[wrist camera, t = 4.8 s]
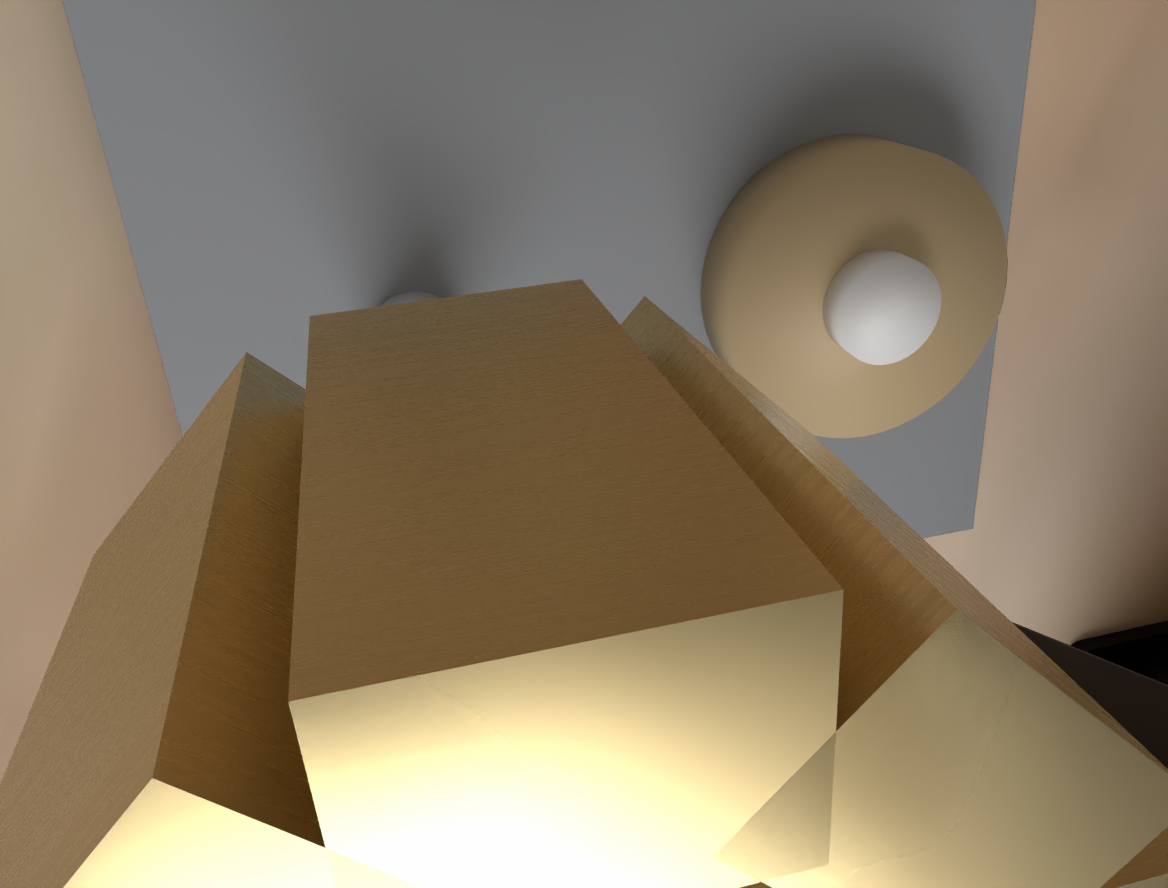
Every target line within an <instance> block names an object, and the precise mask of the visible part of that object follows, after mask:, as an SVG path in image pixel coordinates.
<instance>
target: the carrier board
mask: <svg viewBox="0 0 1168 888" xmlns="http://www.w3.org/2000/svg"><path fill="white" fill-rule="evenodd" d="M62 2H63V5H64V9H65V13H66V16H67V20H68V23H69V27H70V31H71V34H72V38H73V42H74V45H75V49H76V52H77V56H78V60H79V63H80V67H81V70H82V74H83V78H84V81H85V85H86V88H87V92H88V96H89V99H90V103H91V107H92V110H93V114H94V117H95V121H96V125H97V128H98V132H99V135H100V139H101V143H102V146H103V150H104V154H105V157H106V161H107V164H108V168H109V172H110V175H111V179H112V182H113V186H114V190H115V193H116V197H117V200H118V204H119V208H120V211H121V215H122V219H123V222H124V226H125V229H126V233H127V237H128V240H129V244H130V247H131V251H132V255H133V258H134V262H135V266H136V269H137V273H138V276H139V280H140V284H141V287H142V291H143V294H144V298H145V302H146V305H147V309H148V312H149V316H150V320H151V323H152V327H153V331H154V334H155V338H156V341H157V345H158V349H159V352H160V356H161V359H162V363H163V367H164V370H165V374H166V377H167V381H168V385H169V388H170V392H171V396H172V399H173V403H174V406H175V410H176V414H177V417H178V421H179V424H180V428H181V432H182V435H183V436H184V434H185V433H186V432H187V430H188V429H189V428H190V426H191V425H192V424H193V422H194V421H195V420H196V418H197V417H198V416H199V414H200V413H201V412H202V410H203V409H204V408H205V406H206V405H207V404H208V402H209V401H210V400H211V398H212V397H213V396H214V394H215V393H216V392H217V390H218V389H219V388H220V386H221V385H222V384H223V382H224V381H225V380H226V378H227V377H228V376H229V374H230V373H231V372H232V370H233V369H234V368H235V366H236V365H237V364H238V362H239V361H240V360H241V358H242V357H243V356H244V354H245V353H246V352H247V353H249V354H251V355H252V356H254V357H255V358H257V359H258V360H260V361H262V362H263V363H265V364H266V365H268V366H269V367H271V368H273V369H274V370H276V371H277V372H279V373H281V374H282V375H284V376H285V377H287V378H288V379H290V380H292V381H293V382H295V383H296V384H298V385H299V386H301V387H303V388H304V389H306V375H307V357H308V339H309V321H310V316H314V315H321V314H328V313H336V312H343V311H350V310H358V309H365V308H373V307H380V306H387V305H395V304H402V303H409V302H417V301H424V300H432V299H439V298H446V297H454V296H461V295H469V294H476V293H483V292H491V291H498V290H505V289H513V288H520V287H528V286H535V285H542V284H550V283H557V282H564V281H572V280H579V279H582V280H583V281H584V282H585V284H586V285H587V286H588V287H589V288H590V289H591V291H592V292H593V293H594V294H595V295H596V297H597V298H598V299H599V300H600V301H601V303H602V304H603V305H604V306H605V307H606V308H607V310H608V311H609V312H610V313H611V314H612V316H613V317H614V318H615V319H616V320H617V321H618V323H619V324H620V325H621V324H622V322H623V321H624V320H625V319H626V318H627V317H628V315H629V314H630V313H631V312H632V311H633V309H634V308H635V307H636V306H637V305H638V303H639V302H640V301H641V300H642V299H643V297H644V296H645V297H646V298H648V299H649V300H650V301H651V302H652V303H654V304H655V305H656V306H657V307H659V308H660V309H661V310H662V311H663V312H665V313H666V314H667V315H668V316H669V317H671V318H672V319H673V320H674V321H676V322H677V323H678V324H679V325H680V326H682V327H683V328H684V329H685V330H686V331H688V332H689V333H690V334H691V335H692V336H694V337H695V338H696V339H697V340H699V341H700V342H701V343H702V344H703V345H705V346H706V347H707V348H708V349H709V350H711V351H712V352H713V353H714V354H716V355H717V356H718V357H719V358H720V359H722V360H723V361H724V362H725V363H726V364H728V365H729V366H730V367H731V368H733V369H734V370H735V371H736V372H737V373H739V374H740V375H741V376H742V377H743V378H745V379H746V380H747V381H748V382H750V383H751V384H752V385H753V386H754V387H756V388H757V389H758V390H759V391H760V392H762V393H763V394H764V395H765V396H767V397H768V398H769V399H770V400H771V401H773V402H774V403H775V404H776V405H777V406H779V407H780V408H781V409H782V410H783V411H785V412H786V413H787V414H788V415H790V416H791V417H792V418H793V419H794V420H796V421H797V422H798V423H799V424H800V425H802V426H803V427H804V428H805V429H807V430H808V431H809V432H810V433H811V434H812V435H813V436H814V437H816V438H817V439H818V440H819V441H820V442H821V443H822V444H823V445H824V446H825V447H826V448H827V449H828V450H829V451H830V452H831V453H833V454H834V455H835V456H836V457H837V458H838V459H839V460H840V461H841V462H842V463H843V464H844V465H845V466H846V467H847V468H848V469H850V470H851V471H852V472H853V473H854V474H855V475H856V476H857V477H858V478H859V479H860V480H861V481H862V482H863V483H864V484H865V485H867V486H868V487H869V488H870V489H871V490H872V491H873V492H874V493H875V494H876V495H877V496H878V497H879V498H880V499H881V500H882V501H884V502H885V503H886V504H887V505H888V506H889V507H890V508H891V509H892V510H893V511H894V512H895V513H896V514H897V515H898V516H899V517H901V518H902V519H903V520H904V521H905V522H906V523H907V524H908V525H909V526H910V527H911V528H912V529H913V530H914V531H915V532H916V533H918V534H919V535H920V536H921V537H922V538H927V537H932V536H938V535H943V534H948V533H953V532H958V531H963V530H968V529H973V523H974V514H975V506H976V498H977V489H978V481H979V473H980V464H981V456H982V448H983V439H984V431H985V423H986V414H987V406H988V398H989V389H990V381H991V373H992V364H993V356H994V348H995V339H996V331H997V323H998V316H999V313H1000V310H1001V306H1002V303H1003V299H1004V293H1005V288H1006V282H1007V267H1008V260H1007V240H1008V231H1009V223H1010V215H1011V206H1012V198H1013V190H1014V181H1015V173H1016V165H1017V156H1018V148H1019V140H1020V131H1021V123H1022V115H1023V106H1024V98H1025V90H1026V81H1027V73H1028V65H1029V56H1030V48H1031V40H1032V31H1033V23H1034V15H1035V6H1036V0H62Z"/></svg>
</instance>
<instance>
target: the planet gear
mask: <svg viewBox="0 0 1168 888" xmlns="http://www.w3.org/2000/svg"><path fill="white" fill-rule="evenodd" d="M0 888H1168V769H1167V768H1166V767H1165V766H1164V765H1163V764H1162V763H1161V762H1160V761H1159V760H1158V759H1157V758H1155V757H1154V756H1153V755H1152V754H1151V753H1150V752H1149V751H1148V750H1147V749H1146V748H1145V747H1144V746H1143V745H1142V744H1141V743H1140V742H1138V741H1137V740H1136V739H1135V738H1134V737H1133V736H1132V735H1131V734H1130V733H1129V732H1128V731H1127V730H1126V729H1125V728H1124V727H1123V726H1121V725H1120V724H1119V723H1118V722H1117V721H1116V720H1115V719H1114V718H1113V717H1112V716H1111V715H1110V714H1109V713H1108V712H1107V711H1106V710H1104V709H1103V708H1102V707H1101V706H1100V705H1099V704H1098V703H1097V702H1096V701H1095V700H1094V699H1093V698H1092V697H1091V696H1090V695H1089V694H1087V693H1086V692H1085V691H1084V690H1083V689H1082V688H1081V687H1080V686H1079V685H1078V684H1077V683H1076V682H1075V681H1074V680H1073V679H1072V678H1070V677H1069V676H1068V675H1067V674H1066V673H1065V672H1064V671H1063V670H1062V669H1061V668H1060V667H1059V666H1058V665H1057V664H1056V663H1055V662H1053V661H1052V660H1051V659H1050V658H1049V657H1048V656H1047V655H1046V654H1045V653H1044V652H1043V651H1042V650H1041V649H1040V648H1039V647H1038V646H1036V645H1035V644H1034V643H1033V642H1032V641H1031V640H1030V639H1029V638H1028V637H1027V636H1026V635H1025V634H1024V633H1023V632H1022V631H1021V630H1019V629H1018V628H1017V627H1016V626H1015V625H1014V624H1013V623H1012V622H1011V621H1010V620H1009V619H1008V618H1007V617H1006V616H1005V615H1004V614H1002V613H1001V612H1000V611H999V610H998V609H997V608H996V607H995V606H994V605H993V604H992V603H991V602H990V601H989V600H988V599H987V598H986V597H984V596H983V595H982V594H981V593H980V592H979V591H978V590H977V589H976V588H975V587H974V586H973V585H972V584H971V583H970V582H969V581H967V580H966V579H965V578H964V577H963V576H962V575H961V574H960V573H959V572H958V571H957V570H956V569H955V568H954V567H953V566H952V565H950V564H949V563H948V562H947V561H946V560H945V559H944V558H943V557H942V556H941V555H940V554H939V553H938V552H937V551H936V550H935V549H933V548H932V547H931V546H930V545H929V544H928V543H927V542H926V541H925V540H924V539H923V538H922V537H921V536H920V535H919V534H918V533H916V532H915V531H914V530H913V529H912V528H911V527H910V526H909V525H908V524H907V523H906V522H905V521H904V520H903V519H902V518H901V517H899V516H898V515H897V514H896V513H895V512H894V511H893V510H892V509H891V508H890V507H889V506H888V505H887V504H886V503H885V502H884V501H882V500H881V499H880V498H879V497H878V496H877V495H876V494H875V493H874V492H873V491H872V490H871V489H870V488H869V487H868V486H867V485H865V484H864V483H863V482H862V481H861V480H860V479H859V478H858V477H857V476H856V475H855V474H854V473H853V472H852V471H851V470H850V469H848V468H847V467H846V466H845V465H844V464H843V463H842V462H841V461H840V460H839V459H838V458H837V457H836V456H835V455H834V454H833V453H831V452H830V451H829V450H828V449H827V448H826V447H825V446H824V445H823V444H822V443H821V442H820V441H819V440H818V439H817V438H816V437H814V436H813V435H812V434H811V433H810V432H809V431H808V430H807V429H805V428H804V427H803V426H802V425H800V424H799V423H798V422H797V421H796V420H794V419H793V418H792V417H791V416H790V415H788V414H787V413H786V412H785V411H783V410H782V409H781V408H780V407H779V406H777V405H776V404H775V403H774V402H773V401H771V400H770V399H769V398H768V397H767V396H765V395H764V394H763V393H762V392H760V391H759V390H758V389H757V388H756V387H754V386H753V385H752V384H751V383H750V382H748V381H747V380H746V379H745V378H743V377H742V376H741V375H740V374H739V373H737V372H736V371H735V370H734V369H733V368H731V367H730V366H729V365H728V364H726V363H725V362H724V361H723V360H722V359H720V358H719V357H718V356H717V355H716V354H714V353H713V352H712V351H711V350H709V349H708V348H707V347H706V346H705V345H703V344H702V343H701V342H700V341H699V340H697V339H696V338H695V337H694V336H692V335H691V334H690V333H689V332H688V331H686V330H685V329H684V328H683V327H682V326H680V325H679V324H678V323H677V322H676V321H674V320H673V319H672V318H671V317H669V316H668V315H667V314H666V313H665V312H663V311H662V310H661V309H660V308H659V307H657V306H656V305H655V304H654V303H652V302H651V301H650V300H649V299H648V298H646V297H645V296H644V297H643V299H642V300H641V301H640V302H639V303H638V305H637V306H636V307H635V308H634V309H633V311H632V312H631V313H630V314H629V315H628V317H627V318H626V319H625V320H624V321H623V322H622V324H621V325H620V324H619V323H618V321H617V320H616V319H615V318H614V317H613V316H612V314H611V313H610V312H609V311H608V310H607V308H606V307H605V306H604V305H603V304H602V303H601V301H600V300H599V299H598V298H597V297H596V295H595V294H594V293H593V292H592V291H591V289H590V288H589V287H588V286H587V285H586V284H585V282H584V281H583V280H582V279H579V280H572V281H564V282H557V283H550V284H542V285H535V286H528V287H520V288H513V289H505V290H498V291H491V292H483V293H476V294H469V295H461V296H454V297H446V298H439V299H432V300H424V301H417V302H409V303H402V304H395V305H387V306H380V307H373V308H365V309H358V310H350V311H343V312H336V313H328V314H321V315H314V316H310V321H309V339H308V357H307V375H306V389H304V388H303V387H301V386H299V385H298V384H296V383H295V382H293V381H292V380H290V379H288V378H287V377H285V376H284V375H282V374H281V373H279V372H277V371H276V370H274V369H273V368H271V367H269V366H268V365H266V364H265V363H263V362H262V361H260V360H258V359H257V358H255V357H254V356H252V355H251V354H249V353H247V352H246V353H245V354H244V356H243V357H242V358H241V360H240V361H239V362H238V364H237V365H236V366H235V368H234V369H233V370H232V372H231V373H230V374H229V376H228V377H227V378H226V380H225V381H224V382H223V384H222V385H221V386H220V388H219V389H218V390H217V392H216V393H215V394H214V396H213V397H212V398H211V400H210V401H209V402H208V404H207V405H206V406H205V408H204V409H203V410H202V412H201V413H200V414H199V416H198V417H197V418H196V420H195V421H194V422H193V424H192V425H191V426H190V428H189V429H188V430H187V432H186V433H185V434H184V436H183V437H182V438H181V440H180V441H179V442H178V444H177V445H176V446H175V448H174V449H173V450H172V452H171V453H170V454H169V456H168V457H167V458H166V460H165V461H164V462H163V464H162V465H161V466H160V468H159V469H158V470H157V472H156V473H155V474H154V476H153V477H152V478H151V480H150V481H149V482H148V484H147V485H146V486H145V488H144V489H143V490H142V492H141V493H140V494H139V496H138V497H137V498H136V500H135V501H134V502H133V504H132V505H131V506H130V508H129V509H128V510H127V512H126V513H125V514H124V516H123V517H122V518H121V519H120V521H119V522H118V523H117V525H116V526H115V527H114V529H113V530H112V531H111V533H110V534H109V535H108V537H107V538H106V539H105V541H104V542H103V543H102V545H101V546H100V547H99V549H98V550H97V551H96V553H95V554H94V556H93V558H92V561H91V563H90V566H89V568H88V570H87V573H86V575H85V578H84V580H83V583H82V585H81V588H80V590H79V593H78V595H77V597H76V600H75V602H74V605H73V607H72V610H71V612H70V615H69V617H68V619H67V622H66V624H65V627H64V629H63V632H62V634H61V637H60V639H59V642H58V644H57V646H56V649H55V651H54V654H53V656H52V659H51V661H50V664H49V666H48V668H47V671H46V673H45V676H44V678H43V681H42V683H41V686H40V688H39V691H38V693H37V695H36V698H35V700H34V703H33V705H32V708H31V710H30V713H29V715H28V718H27V720H26V722H25V725H24V727H23V730H22V732H21V735H20V737H19V740H18V742H17V744H16V747H15V749H14V752H13V754H12V757H11V759H10V762H9V764H8V767H7V769H6V771H5V774H4V776H3V779H2V781H1V784H0Z"/></svg>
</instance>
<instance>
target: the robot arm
mask: <svg viewBox="0 0 1168 888" xmlns="http://www.w3.org/2000/svg"><path fill="white" fill-rule="evenodd" d="M1012 623H1013V622H1012ZM1013 624H1014V625H1015V626H1016V627H1017V628H1018V629H1019V630H1021V631H1022V632H1023V633H1024V634H1025V635H1026V636H1027V637H1028V638H1029V639H1030V640H1031V641H1032V642H1033V643H1034V644H1035V645H1036V646H1038V647H1039V648H1040V649H1041V650H1042V651H1043V652H1044V653H1045V654H1046V655H1047V656H1048V657H1049V658H1050V659H1051V660H1052V661H1053V662H1055V663H1056V664H1057V665H1058V666H1059V667H1060V668H1061V669H1062V670H1063V671H1064V672H1065V673H1066V674H1067V675H1068V676H1069V677H1070V678H1072V679H1073V680H1074V681H1075V682H1076V683H1077V684H1078V685H1079V686H1080V687H1081V688H1082V689H1083V690H1084V691H1085V692H1086V693H1087V694H1089V695H1090V696H1091V697H1092V698H1093V699H1094V700H1095V701H1096V702H1097V703H1098V704H1099V705H1100V706H1101V707H1102V708H1103V709H1104V710H1106V711H1107V712H1108V713H1109V714H1110V715H1111V716H1112V717H1113V718H1114V719H1115V720H1116V721H1117V722H1118V723H1119V724H1120V725H1121V726H1123V727H1124V728H1125V729H1126V730H1127V731H1128V732H1129V733H1130V734H1131V735H1132V736H1133V737H1134V738H1135V739H1136V740H1137V741H1138V742H1140V743H1141V744H1142V745H1143V746H1144V747H1145V748H1146V749H1147V750H1148V751H1149V752H1150V753H1151V754H1152V755H1153V756H1154V757H1155V758H1157V759H1158V760H1159V761H1160V762H1161V763H1162V764H1163V765H1164V766H1165V767H1166V768H1167V769H1168V621H1164V622H1159V623H1155V624H1150V625H1146V626H1141V627H1137V628H1132V629H1128V630H1124V631H1119V632H1115V633H1110V634H1106V635H1101V636H1097V637H1092V638H1088V639H1084V640H1080V641H1078V642H1075V643H1074V644H1072V645H1071V646H1070V645H1067V644H1065V643H1062V642H1060V641H1057V640H1055V639H1053V638H1050V637H1048V636H1045V635H1043V634H1040V633H1038V632H1035V631H1033V630H1030V629H1028V628H1025V627H1023V626H1020V625H1018V624H1016V623H1013Z"/></svg>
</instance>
